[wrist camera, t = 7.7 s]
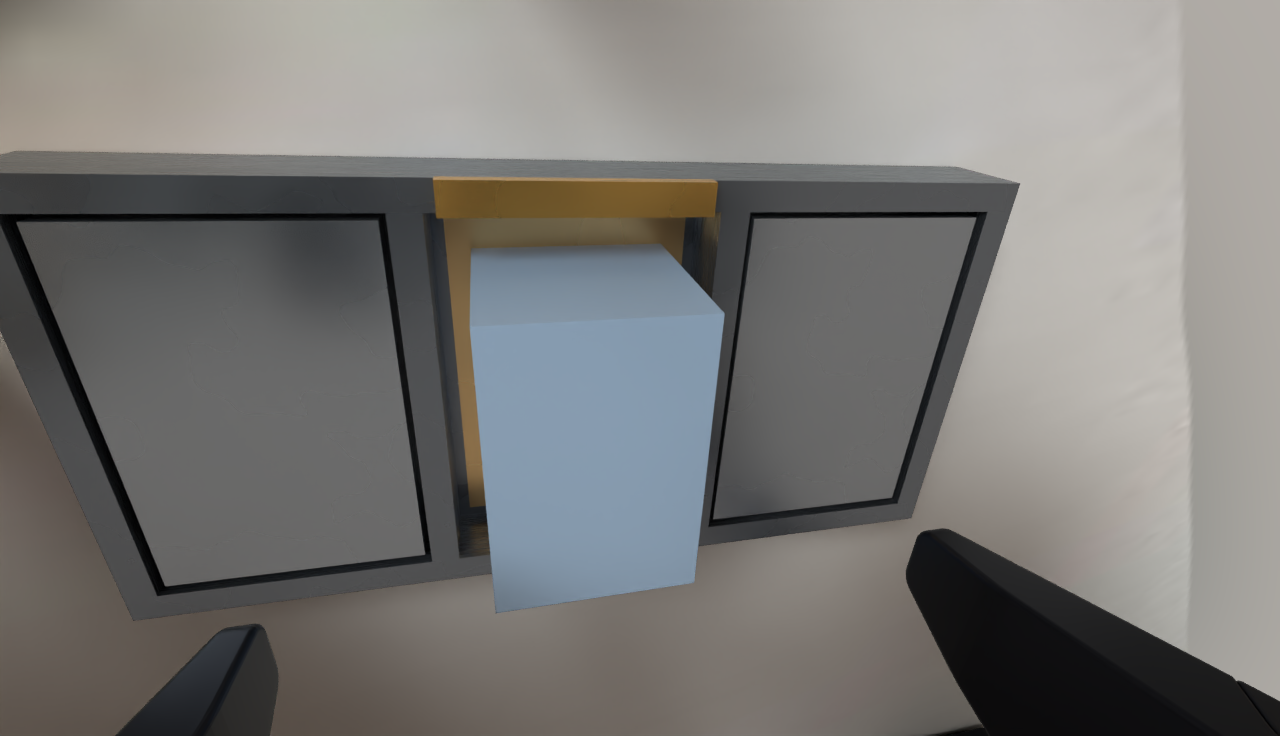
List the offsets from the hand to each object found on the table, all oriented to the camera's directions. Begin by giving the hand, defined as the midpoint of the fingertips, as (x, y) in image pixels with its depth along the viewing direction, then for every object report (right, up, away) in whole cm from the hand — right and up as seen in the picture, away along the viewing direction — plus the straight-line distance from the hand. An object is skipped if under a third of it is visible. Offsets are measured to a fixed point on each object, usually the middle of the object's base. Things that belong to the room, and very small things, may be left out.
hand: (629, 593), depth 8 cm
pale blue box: (-1, +3, +6) cm, 7 cm away
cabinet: (-2, +3, +6) cm, 7 cm away
